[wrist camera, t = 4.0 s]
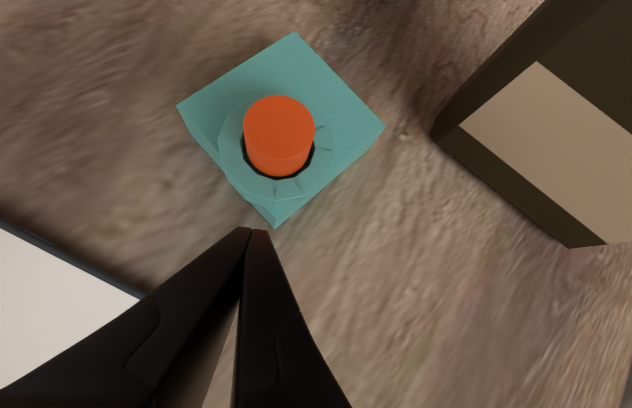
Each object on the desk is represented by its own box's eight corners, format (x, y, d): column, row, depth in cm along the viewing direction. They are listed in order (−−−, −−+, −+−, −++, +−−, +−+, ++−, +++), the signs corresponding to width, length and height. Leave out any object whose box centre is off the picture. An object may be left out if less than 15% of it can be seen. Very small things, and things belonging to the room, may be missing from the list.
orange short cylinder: (274, 189, 17) (276, 173, 15) (233, 143, 17) (227, 120, 15) (321, 152, 18) (329, 131, 16) (281, 108, 18) (283, 82, 16)
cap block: (270, 239, 22) (271, 224, 16) (183, 139, 23) (154, 91, 17) (371, 153, 25) (402, 114, 19) (290, 67, 26) (297, 5, 20)
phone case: (187, 308, 20) (-37, 193, 20) (181, 311, 19) (-62, 186, 18) (100, 454, 18) (-161, 326, 17) (84, 470, 16) (-202, 331, 16)
